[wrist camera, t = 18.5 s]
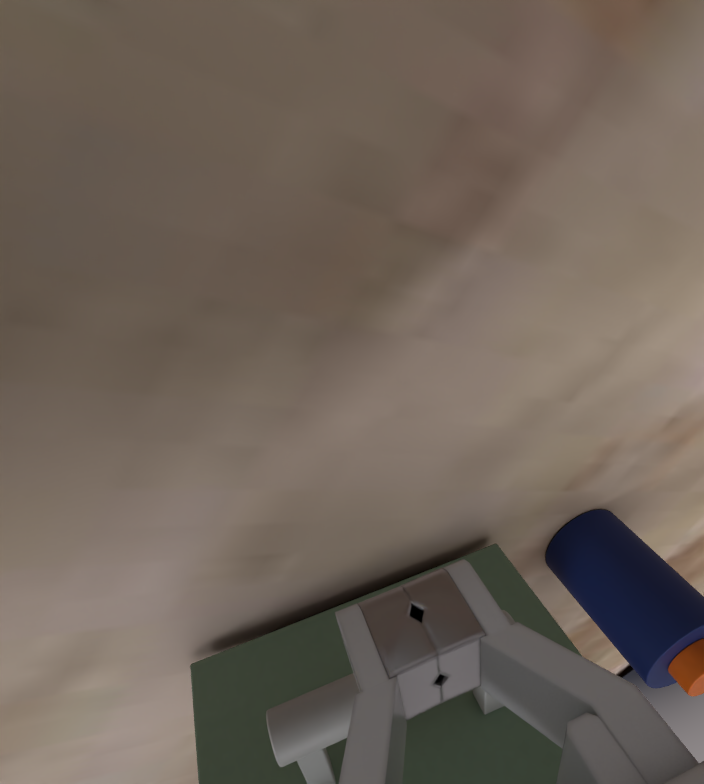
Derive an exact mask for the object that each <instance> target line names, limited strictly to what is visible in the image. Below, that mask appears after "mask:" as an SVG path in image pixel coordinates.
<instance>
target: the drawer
mask: <svg viewBox="0 0 704 784" xmlns="http://www.w3.org/2000/svg"><path fill="white" fill-rule="evenodd" d="M462 559H464V560H466V561H468V562H469V563H470V564H471V566H472V567H473V569H474V570H475V572H476V573H477V575H478V576H479V578H480V579H481V581H482V582H483V583H484V585H485V586H486V588H487V589H488V591H489V592H490V594H491V595H492V597H493V598H494V600H495V601H496V603H497V604H498V606H499V607H500V609H501V610H502V612H503V613H504V615H505V616H506V618H507V619H508V620H509V622H510V623H511V624H513V623H516V622H519V623H521V624H522V625H524V626H526V627H528V628H530V629H532V630H533V631H535V632H537V633H539V634H541V635H543V636H545V637H546V638H548V639H550V640H552V641H554V642H556V643H558V644H559V645H561V646H563V647H565V648H567V649H569V650H571V651H572V652H574V653H576V654H578V655H580V656H582V655H581V654H580V653H579V651H578V650H577V649H576V647H575V646H574V645H573V643H572V642H571V641H570V639H569V638H568V637H567V636H566V634H565V633H564V632H563V630H562V629H561V628H560V626H559V625H558V624H557V622H556V621H555V620H554V618H553V617H552V616H551V615H550V613H549V612H548V611H547V609H546V608H545V607H544V605H543V604H542V603H541V601H540V600H539V599H538V597H537V596H536V595H535V594H534V592H533V591H532V590H531V588H530V587H529V586H528V584H527V583H526V582H525V580H524V579H523V578H522V576H521V575H520V574H519V573H518V571H517V570H516V569H515V567H514V566H513V565H512V563H511V562H510V561H509V559H508V558H507V557H506V555H505V554H504V553H503V552H502V550H501V549H500V548H499V546H498V545H497V544H493V545H491V546H488V547H486V548H483V549H481V550H478V551H476V552H473V553H471V554H468V555H466V556H463V557H461V558H458V559H456V560H453V561H451V562H448V563H445V564H443V565H440V566H438V567H435V568H433V569H430V570H428V571H425V572H423V573H420V574H418V575H415V576H413V577H410V578H408V579H405V580H403V581H400V582H397V583H395V584H392V585H390V586H387V587H385V588H382V589H380V590H377V591H375V592H372V593H370V594H367V595H365V596H362V597H360V598H357V599H355V600H352V601H349V602H347V603H344V604H342V605H339V606H337V607H334V608H332V609H329V610H327V611H324V612H322V613H319V614H317V615H314V616H312V617H309V618H306V619H304V620H301V621H299V622H296V623H294V624H291V625H289V626H286V627H284V628H281V629H279V630H276V631H274V632H271V633H269V634H266V635H264V636H261V637H258V638H256V639H253V640H251V641H248V642H246V643H243V644H241V645H238V646H236V647H233V648H231V649H228V650H226V651H223V652H221V653H218V654H216V655H213V656H210V657H208V658H205V659H203V660H200V661H198V662H195V663H193V664H191V666H190V667H191V681H192V695H193V709H194V723H195V737H196V751H197V765H198V780H199V784H339V779H340V774H341V768H342V763H343V757H344V752H345V747H346V741H347V736H348V731H349V725H350V720H351V714H352V709H353V704H354V698H355V694H357V693H359V692H360V691H359V688H358V686H357V683H356V680H355V677H354V674H353V671H352V668H351V665H350V662H349V659H348V656H347V653H346V649H345V646H344V643H343V640H342V636H341V633H340V629H339V626H338V623H337V619H336V616H335V612H337V611H339V610H342V609H344V608H347V607H349V606H351V605H354V604H356V603H360V602H362V601H365V600H367V599H370V598H372V597H374V596H377V595H379V594H382V593H384V592H387V591H389V590H392V589H394V588H396V587H399V586H401V585H403V584H405V583H407V582H410V581H412V580H414V579H417V578H419V577H421V576H423V575H426V574H428V573H430V572H433V571H435V570H437V569H440V568H443V567H446V566H448V565H450V564H453V563H455V562H457V561H460V560H462ZM406 722H407V731H406V743H405V756H404V768H403V781H402V784H556V782H557V776H558V771H559V766H560V760H561V755H562V748H561V747H559V746H558V745H557V744H555V743H554V742H553V741H551V740H550V739H549V738H547V737H546V736H545V735H543V734H542V733H541V732H539V731H538V730H537V729H535V728H534V727H532V726H531V725H530V724H528V723H527V722H526V721H524V720H523V719H522V718H520V717H519V716H518V715H516V714H515V713H514V712H512V711H511V710H510V709H508V708H507V707H506V706H504V705H503V704H501V703H500V702H499V701H497V700H496V699H495V698H493V697H492V696H491V695H489V694H488V693H487V692H485V691H484V690H483V689H481V686H480V687H478V688H476V689H473V690H471V691H469V692H466V693H464V694H462V695H459V696H457V697H455V698H453V699H450V700H448V701H446V702H443V703H441V704H439V705H437V706H435V707H433V708H431V709H429V710H427V711H425V712H423V713H421V714H419V715H417V716H415V717H413V718H411V719H409V720H408V721H406Z"/></svg>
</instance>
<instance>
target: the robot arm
mask: <svg viewBox="0 0 704 784" xmlns="http://www.w3.org/2000/svg"><path fill="white" fill-rule="evenodd" d="M335 616H336V619H337V623H338V626H339V629H340V633H341V636H342V640H343V643H344V646H345V649H346V653H347V656H348V659H349V662H350V665H351V668H352V671H353V674H354V677H355V680H356V683H357V686H358V688H359V691H360V692H359V693H357V694H355V698H354V704H353V709H352V714H351V720H350V725H349V731H348V736H347V741H346V747H345V752H344V757H343V763H342V768H341V774H340V779H339V784H402V781H403V768H404V756H405V743H406V731H407V722H406V721H408V720H409V719H411V718H413V717H415V716H417V715H419V714H421V713H423V712H425V711H427V710H429V709H431V708H433V707H435V706H437V705H439V704H441V703H443V702H446V701H448V700H450V699H453V698H455V697H457V696H459V695H462V694H464V693H466V692H469V691H471V690H473V689H476V688H478V687H480V686H481V689H483V690H484V691H485V692H487V693H488V694H489V695H491V696H492V697H493V698H495V699H496V700H497V701H499V702H500V703H501V704H503V705H504V706H506V707H507V708H508V709H510V710H511V711H512V712H514V713H515V714H516V715H518V716H519V717H520V718H522V719H523V720H524V721H526V722H527V723H528V724H530V725H531V726H532V727H534V728H535V729H537V730H538V731H539V732H541V733H542V734H543V735H545V736H546V737H547V738H549V739H550V740H551V741H553V742H554V743H555V744H557V745H558V746H559V747H561V748H562V755H561V760H560V766H559V771H558V776H557V782H556V784H704V761H703V762H701V763H698V762H697V760H696V759H695V758H694V757H693V756H692V754H691V753H690V752H689V751H688V749H687V748H686V747H685V746H684V744H683V743H682V742H681V741H680V739H679V738H678V737H677V736H676V735H675V733H674V732H673V731H672V730H671V728H670V727H669V726H668V725H667V723H666V722H665V721H664V720H663V718H662V717H661V716H660V715H659V714H658V712H657V711H656V710H655V709H654V707H653V706H652V705H651V704H650V702H649V701H648V700H647V699H646V698H645V696H644V695H643V694H642V693H641V691H640V690H639V689H638V688H637V686H635V685H634V684H632V683H630V682H628V681H626V680H624V679H622V678H621V677H619V676H617V675H615V674H613V673H611V672H610V671H608V670H606V669H604V668H602V667H600V666H598V665H597V664H595V663H593V662H591V661H589V660H587V659H585V658H584V657H582V656H580V655H578V654H576V653H574V652H572V651H571V650H569V649H567V648H565V647H563V646H561V645H559V644H558V643H556V642H554V641H552V640H550V639H548V638H546V637H545V636H543V635H541V634H539V633H537V632H535V631H533V630H532V629H530V628H528V627H526V626H524V625H522V624H521V623H519V622H516V623H513V624H511V623H510V622H509V620H508V619H507V618H506V616H505V615H504V613H503V612H502V610H501V609H500V607H499V606H498V604H497V603H496V601H495V600H494V598H493V597H492V595H491V594H490V592H489V591H488V589H487V588H486V586H485V585H484V583H483V582H482V581H481V579H480V578H479V576H478V575H477V573H476V572H475V570H474V569H473V567H472V566H471V564H470V563H469V562H468V561H466V560H464V559H462V560H460V561H457V562H455V563H453V564H450V565H448V566H446V567H443V568H440V569H437V570H435V571H433V572H430V573H428V574H426V575H423V576H421V577H419V578H417V579H414V580H412V581H410V582H407V583H405V584H403V585H401V586H399V587H396V588H394V589H392V590H389V591H387V592H384V593H382V594H379V595H377V596H374V597H372V598H370V599H367V600H365V601H362V602H360V603H356V604H354V605H351V606H349V607H347V608H344V609H342V610H339V611H337V612H335Z"/></svg>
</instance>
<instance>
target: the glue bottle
mask: <svg viewBox="0 0 704 784" xmlns="http://www.w3.org/2000/svg"><path fill="white" fill-rule="evenodd" d="M546 563H547V565H548V567H549V568H550V569H551V570H552V572H553V573H554V574H555V575H556V576H557V578H558V579H559V580H560V581H561V582H562V584H563V585H564V586H565V587H566V588H567V590H568V591H569V592H570V593H571V594H572V596H573V597H574V598H575V599H576V600H577V602H578V603H579V604H580V605H581V606H582V608H583V609H584V610H585V611H586V612H587V614H588V615H589V616H590V617H591V618H592V620H593V621H594V622H595V623H596V624H597V626H598V627H599V628H600V629H601V630H602V632H603V633H604V634H605V635H606V636H607V638H608V639H609V640H610V641H611V642H612V644H613V645H614V646H615V647H616V648H617V649H618V651H619V652H620V653H621V654H622V655H623V657H624V658H625V659H626V660H627V661H628V663H629V664H630V665H631V666H632V667H633V669H634V670H635V671H636V672H637V673H638V674H639V676H640V677H641V678H642V679H643V680H644V682H645V683H646V684H647V685H648V686H649V687H651V688H661V687H665V686H669V685H671V684H674V683H676V682H678V684H679V685H680V686H681V687H682V688H683V689H684V690H685V691H686V692H687V694H688V695H690V696H697V695H700V694H703V693H704V597H703V596H702V595H701V594H700V593H699V592H698V591H697V590H696V589H694V588H693V587H692V586H691V585H690V584H689V583H688V582H687V581H686V580H685V579H684V578H683V577H681V576H680V575H679V574H678V573H677V572H676V571H675V570H674V569H673V568H672V567H671V566H669V565H668V564H667V563H666V562H665V561H664V560H663V559H662V558H661V557H660V556H659V555H657V554H656V553H655V552H654V551H653V550H652V549H651V548H650V547H649V546H648V545H647V544H645V543H644V542H643V541H642V540H641V539H640V538H639V537H638V536H637V535H636V534H635V533H633V532H632V531H631V530H630V529H629V528H628V527H627V526H626V525H625V524H624V523H623V522H621V521H620V520H619V519H618V518H617V517H616V516H615V515H614V514H613V513H611V512H610V511H607V510H593V511H589V512H587V513H584V514H582V515H580V516H578V517H576V518H575V519H573V520H572V521H570V522H569V523H568V524H566V525H565V526H564V527H563V528H562V529H561V530H560V531H559V532H558V533H557V534H556V536H555V537H554V538H553V540H552V541H551V543H550V545H549V547H548V549H547V552H546Z"/></svg>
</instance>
